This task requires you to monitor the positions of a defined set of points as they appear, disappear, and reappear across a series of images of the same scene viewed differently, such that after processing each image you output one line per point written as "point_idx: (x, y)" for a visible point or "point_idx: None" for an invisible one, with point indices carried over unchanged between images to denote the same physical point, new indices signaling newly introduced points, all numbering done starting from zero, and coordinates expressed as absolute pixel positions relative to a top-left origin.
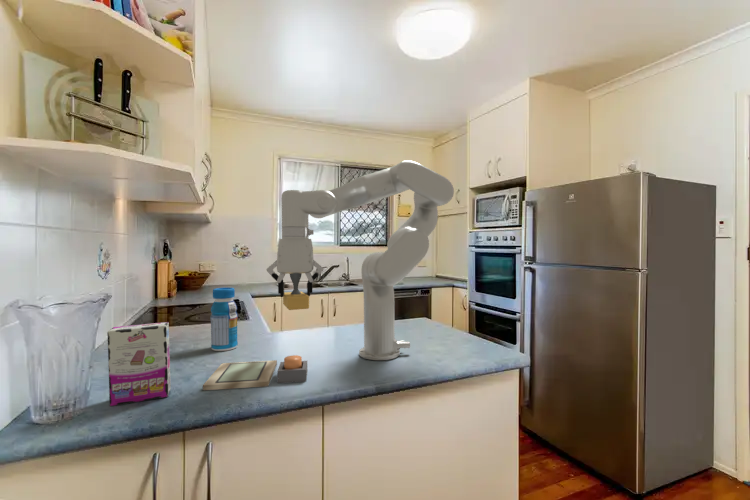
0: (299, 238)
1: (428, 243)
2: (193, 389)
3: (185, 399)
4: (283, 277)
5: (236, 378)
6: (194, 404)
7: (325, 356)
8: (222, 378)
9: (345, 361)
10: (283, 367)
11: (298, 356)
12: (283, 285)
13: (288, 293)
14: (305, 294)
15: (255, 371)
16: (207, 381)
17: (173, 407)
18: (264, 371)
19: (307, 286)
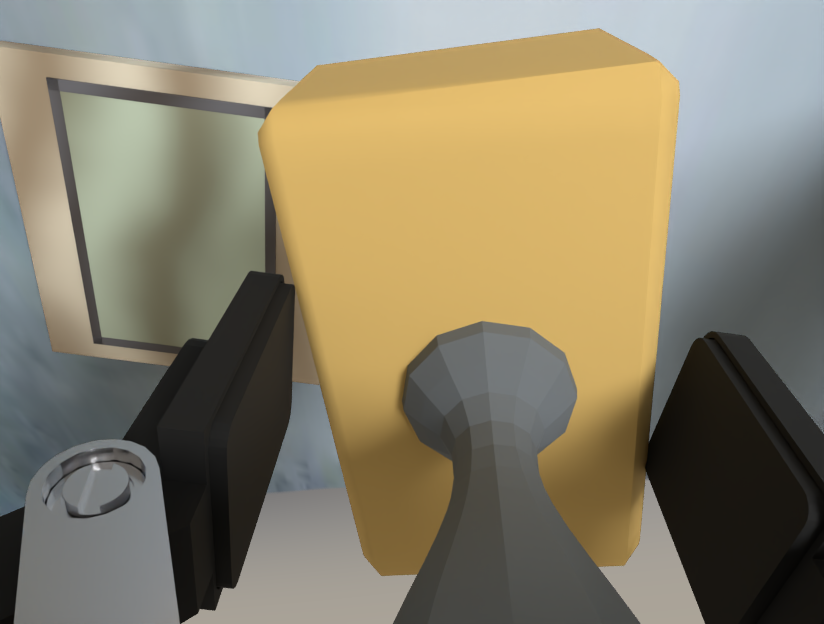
0: None
1: None
2: (17, 317)
3: (40, 395)
4: (169, 586)
5: (171, 324)
6: (95, 437)
7: (682, 3)
8: (105, 306)
9: (762, 160)
10: None
11: None
12: (246, 488)
13: (366, 315)
14: (618, 492)
15: (239, 261)
16: (50, 316)
17: (36, 439)
18: (285, 269)
19: (696, 591)
